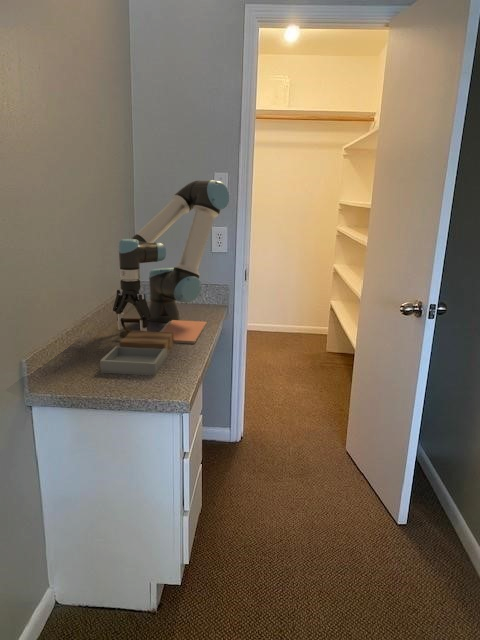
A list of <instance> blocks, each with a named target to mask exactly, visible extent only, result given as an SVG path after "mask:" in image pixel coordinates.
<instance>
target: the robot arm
mask: <svg viewBox="0 0 480 640" xmlns="http://www.w3.org/2000/svg"><path fill="white" fill-rule="evenodd" d="M229 202H230V192H229V191H228V187H227V185H226V184H225V183H224V182H223V181H219V180H213V179H211V180H194V181H191V182H189V183H188V184H186V185H184V186H183V187H181V188H180V189H179V190H178V191H177V192H176V193H175V194H174V195H173V196H172V199H171V201H170V202H169V203H167V205H165V206H164V208H162V209H161V210H160V211H159V212H158V213H157V214H156V215H155V216H154V217H153V218H152V219H150V221H148V222H147V223H146V224H145V225H144V226H142V228H141V229H139V231H138V232H137V233H136V234H135V235H133V237H131V238H122V239H120V240H119V242H118V257H119V277H120V278H119V279H121V280H120V282H119V283H120V288H119V289H117V290H116V297H115V300H114V303H113V308H112V311H113V312H115V314H116V320H117V329H118V330H121V331H122V330H124V329H123V326H122V324H121V318H125V313H124V310H125V308H126V307H127V305H128V304H132V306H134V307H135V309H136V311H137V313H138V315H139V316H140V318H141V320H140V323H139V326H140V327H139V328H140V331H148V321H150V322H155V323H168V322H169V321H170V322H171V321H172V320H179V319H181V312H180V310H179V308H178V307H179V306H178V304H177V302H178V303H179V302H180V303H185V304H186V303H193V301H195V300H196V299H198V297H199V296H200V294H201V292H202V283H201V281H200V276H201V274H200V272H199V267H200V264H201V261H202V258H203V254H204V252H205V248H206V245H207V243H208V239H209V236H210V232H211V230H212V227H213V223H214V221H215V219H216V218H217V217H219V216H220V212H221V210H223V209H225V208H227V206H228V205H229ZM192 210H194V215H193V219H192V221H191V225H190V227H189V230H188V234H187V236H186V237H187V238H186V241H185V242H184V243H185V244H184V246H183V250H182V253H181V256H180V259H179V262H178V264H177V265H175V266H174V267H162V268H161V267H160V268H154V269H151V270H149V277H148V281H149V282H148V283H149V301H150V302H149V304H148V302H147V299H146V294H145V293H140V291H139V290H141V280H140V279H141V273H140V272H141V270H140V269H141V267H140V266H141V264H144V263H157V262H162V261H164V260H165V259H166V256H167V250H166V249H167V248H166V247H165V245H164V243H162V242H155V241H157V240H158V239H159V238H160V237H161V236H162V235H163V234H164V233H165V232H167V230H168V229H169V228H170V227H171V226H172V225H173V224H174V223H176V221H178V220H179V219H180V218H181V217H182V216H183V215H184V214H188V213H190V212H191V211H192Z"/></svg>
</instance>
